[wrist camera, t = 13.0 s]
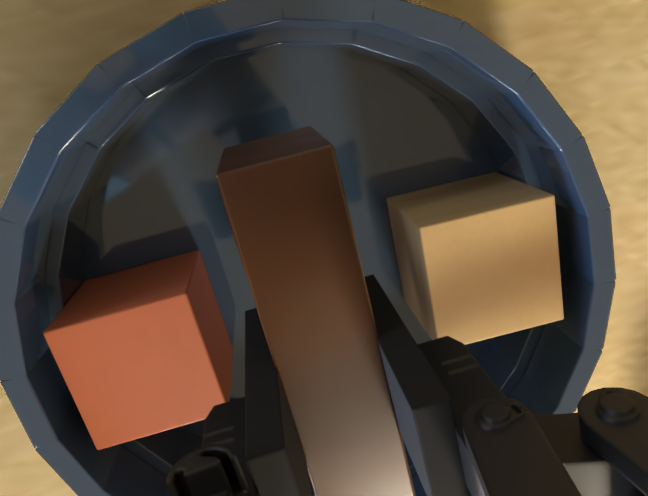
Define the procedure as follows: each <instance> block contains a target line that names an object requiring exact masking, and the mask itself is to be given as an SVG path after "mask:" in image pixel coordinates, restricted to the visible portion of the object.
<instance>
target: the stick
mask: <svg viewBox="0 0 648 496" xmlns="http://www.w3.org/2000/svg"><path fill="white" fill-rule="evenodd" d="M216 181H217V184H218V188H219V191H220V194H221V197H222V200H223V204H224V207H225V210H226V213H227V216H228V219H229V223H230V226H231V229H232V232H233V235H234V238H235V242H236V245H237V248H238V251H239V254H240V258H241V261H242V264H243V267H244V270H245V273H246V277H247V280H248V283H249V286H250V289H251V293H252V296H253V299H254V302H255V305H256V308H257V312H258V315H259V318H260V321H261V324H262V328H263V331H264V334H265V337H266V340H267V343H268V347H269V350H270V353H271V356H272V359H273V363H274V366H275V367H276V368H277V371H278V374H279V377H280V380H281V383H282V386H283V389H284V393H285V396H286V399H287V402H288V405H289V408H290V411H291V414H292V418H293V421H294V424H295V427H296V430H297V433H298V436H299V439H300V443H301V446H302V449H303V452H304V455H305V458H306V463H307V469H308V474H309V477H310V480H311V483H312V487H313V490H314V493H315V496H416V494H415V489H414V485H413V481H412V477H411V472H410V468H409V464H408V460H407V455H406V451H405V447H404V443H403V438H402V436H401V434H400V431H399V427H398V423H397V419H396V414H395V410H394V406H393V402H392V398H391V394H390V390H389V386H388V382H387V377H386V373H385V369H384V365H383V361H382V357H381V353H380V349H379V345H378V340H377V338H378V332H377V328H376V324H375V320H374V315H373V311H372V307H371V303H370V298H369V294H368V290H367V286H366V281H365V277H364V273H363V269H362V264H361V260H360V256H359V252H358V248H357V243H356V239H355V235H354V231H353V226H352V222H351V218H350V214H349V209H348V205H347V201H346V197H345V192H344V188H343V184H342V180H341V175H340V171H339V167H338V163H337V158H336V154H335V150H334V146H333V145H332V144H331V143H330V142H329V141H328V140H327V139H325V138H324V137H323V136H322V135H321V134H319V133H318V132H317V131H316V130H315V129H314V128H312V127H311V126H307V127H303V128H299V129H295V130H291V131H288V132H284V133H280V134H276V135H273V136H269V137H265V138H261V139H257V140H254V141H250V142H246V143H242V144H239V145H235V146H231V147H227V148H225V149H223V152H222V156H221V159H220V162H219V166H218V169H217V173H216Z"/></svg>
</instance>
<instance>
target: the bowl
mask: <svg viewBox="0 0 648 496" xmlns="http://www.w3.org/2000/svg"><path fill="white" fill-rule="evenodd" d="M307 126H311V127H312V128H314V129H315V130H316V131H317V132H318V133H319V134H321V135H322V136H323V137H324V138H325V139H327V140H328V141H329V142H330V143H331V144H332V145H333V146H334V150H335V154H336V158H337V163H338V167H339V171H340V175H341V180H342V184H343V188H344V192H345V197H346V201H347V205H348V209H349V214H350V218H351V222H352V226H353V231H354V235H355V239H356V243H357V248H358V252H359V256H360V260H361V264H362V269H363V273H364V277H365V276H369V275H372V274H374V276H375V277H376V279H377V281H378V282H379V284H380V286H381V287H382V289H383V290H384V292H385V294H386V295H387V297H388V298H389V300H390V302H391V303H392V305H393V306H394V308H395V310H396V311H397V313H398V314H399V316H400V318H401V319H402V321H403V322H404V324H405V326H406V327H407V329H408V330H409V332H410V334H411V335H412V337H413V338H414V340H415V342H416V343H417V344H421V343H424V342H427V341H431V340H432V339H431V338H430V336H429V335H428V334H427V332H426V331H425V329H424V328H423V326H422V325H421V323H420V322H419V321H418V319H417V318H416V316H415V315H414V313H413V312H412V310H411V309H410V307H409V306H408V305H407V303H406V302H405V300H404V296H403V290H402V284H401V279H400V273H399V268H398V262H397V256H396V251H395V245H394V240H393V234H392V229H391V223H390V217H389V212H388V206H387V201H386V199H387V198H388V197H392V196H396V195H401V194H405V193H409V192H413V191H417V190H421V189H426V188H430V187H434V186H438V185H442V184H446V183H451V182H455V181H459V180H463V179H467V178H472V177H476V176H480V175H484V174H488V173H492V172H496V173H499V174H502V175H504V176H507V177H509V178H512V179H514V180H517V181H520V182H522V183H525V184H527V185H530V186H532V187H535V188H537V189H540V190H543V191H545V192H548V193H550V194H553V195H554V196H555V208H556V221H557V234H558V247H559V260H560V273H561V286H562V299H563V312H564V319H563V320H559V321H555V322H551V323H547V324H544V325H540V326H536V327H532V328H528V329H524V330H520V331H516V332H512V333H509V334H505V335H501V336H497V337H493V338H489V339H485V340H481V341H478V342H474V343H470V344H466V345H465V346H466V348H467V349H468V350H469V351H470V353H471V354H472V356H474V358H475V359H476V360H477V361H478V363H479V365H480V366H482V368H483V369H484V370H485V371H486V373H487V374H488V375H489V377H490V378H491V379H492V380H493V382H494V383H495V384H496V385H497V387H498V388H499V389H500V390H501V392H502V393H503V394H504V395H505V397H506V398H513V399H515V400H517V401H519V402H521V403H523V404H524V405H525V406H526V407H527V408H528V409H529V410H530V411H531V412H532V413H537V414H568V413H573V412H575V411H576V409H577V404H578V403H579V401H580V399H581V398H582V395H583V393H584V391H585V389H586V386H587V384H588V382H589V380H590V378H591V375H592V373H593V371H594V369H595V367H596V364H597V362H598V360H599V358H600V356H601V353H602V350H601V349H603V347H604V342H605V337H606V331H607V326H608V320H609V315H610V309H611V304H612V299H613V293H614V288H615V279H616V273H615V260H614V248H613V236H612V223H611V211H610V208H609V207H610V205H609V202H608V199H607V197H606V194H605V191H604V189H603V186H602V183H601V181H600V178H599V175H598V173H597V170H596V167H595V165H594V162H593V159H592V157H591V154H590V151H589V149H588V146H587V144H586V141H585V138H584V137H583V136H582V134H581V132H580V131H579V130H578V128H577V127H576V126H575V124H574V123H573V122H572V120H571V119H570V118H569V116H568V115H567V114H566V113H565V111H564V110H563V109H562V107H561V106H560V105H559V103H558V102H557V101H556V99H555V98H554V97H553V96H552V94H551V93H550V92H549V90H548V89H547V88H546V86H545V85H544V84H543V82H542V81H541V80H540V79H539V77H538V76H537V75H536V73H534V72H533V70H532V69H531V68H530V67H528V66H527V65H525V64H524V63H523V62H521V61H520V60H518V59H517V58H516V57H514V56H513V55H511V54H510V53H509V52H507V51H506V50H504V49H503V48H502V47H500V46H499V45H497V44H496V43H495V42H493V41H492V40H490V39H489V38H488V37H486V36H485V35H484V34H482V33H481V32H479V31H478V30H477V29H475V28H474V27H472V26H471V25H470V24H468V23H467V22H465V21H462V20H461V19H459V18H456V17H453V16H450V15H447V14H444V13H441V12H438V11H435V10H432V9H429V8H426V7H423V6H420V5H417V4H414V3H411V2H408V1H405V0H227V1H223V2H219V3H215V4H211V5H207V6H204V7H200V8H196V9H192V10H188V11H185V12H184V13H180V14H178V15H177V16H175V17H173V18H172V19H170V20H168V21H167V22H165V23H163V24H162V25H160V26H158V27H157V28H155V29H153V30H152V31H150V32H148V33H147V34H145V35H143V36H142V37H140V38H138V39H137V40H135V41H134V42H132V43H130V44H129V45H127V46H125V47H124V48H122V49H120V50H119V51H117V52H115V53H114V54H112V55H110V56H109V57H107V58H105V59H104V60H102V61H100V62H99V64H97V65H96V66H95V67H94V68H93V69H92V70H91V71H90V72H89V74H88V75H87V76H86V77H85V78H84V79H83V80H82V81H81V82H80V83H79V85H78V86H77V87H76V88H75V89H74V90H73V91H72V92H71V93H70V95H69V96H68V97H67V98H66V99H65V100H64V101H63V102H62V103H61V104H60V106H59V107H58V108H57V109H56V110H55V111H54V112H53V113H52V114H51V116H50V117H49V118H48V119H47V120H46V121H45V122H44V123H43V124H42V126H41V127H40V128H39V129H38V130H37V131H36V132H35V135H34V136H33V138H32V140H31V142H30V144H29V146H28V148H27V150H26V153H25V155H24V157H23V159H22V161H21V163H20V166H19V168H18V170H17V172H16V174H15V176H14V179H13V181H12V183H11V185H10V187H9V189H8V192H7V194H6V196H5V198H4V200H3V202H2V205H1V207H0V381H1V384H2V386H3V388H4V390H5V392H6V394H7V396H8V398H9V400H10V401H11V403H12V405H13V407H14V409H15V411H16V413H17V415H18V417H19V419H20V421H21V423H22V425H23V427H24V429H25V431H26V433H27V435H28V437H29V438H30V440H31V442H32V444H33V446H34V448H36V451H37V452H38V453H39V454H40V456H41V457H42V458H43V459H44V460H45V461H46V462H47V463H48V464H49V465H50V466H51V467H52V468H53V469H54V471H55V472H56V473H57V474H58V475H59V476H60V477H61V478H62V479H63V480H64V481H65V482H66V483H67V484H68V486H69V487H70V488H71V489H72V490H73V491H74V492H75V493H76V494H77V495H78V496H171V495H170V492H169V490H168V488H167V486H166V479H167V476H168V473H169V471H170V470H171V469H172V467H173V466H174V464H175V463H176V462H177V461H178V460H180V459H181V458H182V457H183V456H185V455H186V454H187V453H189V452H191V451H193V450H195V449H197V448H199V447H201V444H202V438H203V436H202V435H203V427H204V421H205V419H204V420H201V421H197V422H194V423H190V424H187V425H183V426H180V427H177V428H173V429H170V430H166V431H163V432H159V433H156V434H152V435H149V436H146V437H142V438H139V439H135V440H132V441H128V442H125V443H121V444H118V445H115V446H111V447H108V448H104V449H101V450H97V449H96V447H95V444H94V442H93V440H92V438H91V436H90V434H89V432H88V429H87V427H86V425H85V423H84V421H83V419H82V416H81V414H80V412H79V410H78V408H77V406H76V404H75V401H74V399H73V397H72V395H71V393H70V391H69V389H68V386H67V384H66V382H65V380H64V378H63V376H62V374H61V371H60V369H59V367H58V365H57V363H56V361H55V358H54V356H53V354H52V352H51V350H50V348H49V346H48V343H47V341H46V339H45V337H44V335H43V332H44V331H45V330H46V328H47V327H48V326H49V325H50V323H51V322H52V321H53V320H54V318H55V317H56V316H57V315H58V313H59V312H60V311H61V310H62V309H63V307H64V306H65V305H66V304H67V302H68V301H69V300H70V299H71V297H72V296H73V295H74V294H75V292H76V291H77V290H78V289H79V287H80V286H81V285H82V284H83V283H84V281H86V280H90V279H93V278H97V277H101V276H104V275H108V274H112V273H115V272H119V271H122V270H126V269H130V268H133V267H137V266H141V265H144V264H148V263H151V262H155V261H159V260H162V259H166V258H170V257H173V256H177V255H181V254H184V253H188V252H191V251H195V250H199V251H200V254H201V257H202V260H203V263H204V266H205V269H206V271H207V274H208V277H209V280H210V283H211V286H212V289H213V292H214V295H215V298H216V301H217V304H218V307H219V310H220V312H221V315H222V318H223V321H224V324H225V327H226V330H227V333H228V336H229V339H230V342H231V345H232V348H233V354H232V370H231V386H230V401H232V400H235V399H239V398H242V397H245V311H247V310H250V309H254V308H256V305H255V302H254V299H253V296H252V293H251V289H250V286H249V283H248V280H247V277H246V273H245V270H244V267H243V264H242V261H241V258H240V254H239V251H238V248H237V245H236V242H235V238H234V235H233V232H232V229H231V226H230V223H229V219H228V216H227V213H226V210H225V207H224V204H223V200H222V197H221V194H220V191H219V188H218V184H217V181H216V173H217V169H218V166H219V162H220V159H221V156H222V152H223V149H225V148H227V147H231V146H235V145H239V144H242V143H246V142H250V141H254V140H257V139H261V138H265V137H269V136H273V135H276V134H280V133H284V132H288V131H291V130H295V129H299V128H303V127H307ZM403 443H404V441H403ZM404 447H405V451H406V455H407V460H408V464H409V468H410V472H411V477H412V481H413V485H414V489H415V494H416V496H427V495H426V492H425V490H424V488H423V485H422V483H421V481H420V478H419V476H418V474H417V471H416V469H415V467H414V464H413V462H412V459H411V457H410V455H409V452H408V450H407V448H406V445H405V443H404ZM308 475H309V474H308ZM309 482H310V488H311V495H312V496H315V493H314V490H313V487H312V483H311V480H310V477H309ZM470 496H472V495H471V493H470Z"/></svg>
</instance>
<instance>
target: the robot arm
mask: <svg viewBox="0 0 648 496" xmlns="http://www.w3.org/2000/svg"><path fill="white" fill-rule="evenodd" d="M365 281H366V286H367V290H368V294H369V298H370V303H371V307H372V311H373V315H374V320H375V324H376V328H377V332H378V338H377V340H378V345H379V349H380V353H381V357H382V361H383V365H384V369H385V373H386V377H387V382H388V386H389V390H390V394H391V398H392V402H393V406H394V410H395V414H396V419H397V423H398V427H399V431H400V434H401V436H402V438H403V441H404V443H405V445H406V448H407V450H408V452H409V455H410V457H411V459H412V462H413V464H414V467H415V469H416V471H417V474H418V476H419V478H420V481H421V483H422V485H423V488H424V490H425V492H426V495H427V496H470V493H471V495H472V496H648V397H647V396H645V395H643V394H641V393H639V392H636V391H633V390H629V389H624V388H602V389H597V390H593V391H591V392H589V393H587V394H586V395H584V396H583V397H582V398H581V399H580V401H579V403H578V404H577V408H578V413H568V414H537V413H532V412H531V411H530V410H529V409H528V408H527V407H526V406H525V405H524V404H523V403H521V402H519V401H517V400H515V399H513V398H506V397H505V395H504V394H503V393H502V392H501V390H500V389H499V388H498V387H497V385H496V384H495V383H494V382H493V380H492V379H491V378H490V377H489V375H488V374H487V373H486V371H485V370H484V369H483V368H482V366H480V365H479V363H478V361H477V360H476V359H475V358H474V356H472V354H471V353H470V351H469V350H468V349H467V348H466V346H465V345H464V344H463V343H462V342H460V341H458V340H455V339H453V338H451V337H449V336H444V337H441V338H438V339H434V340H431V341H427V342H424V343H421V344H417V343H416V342H415V340H414V338H413V337H412V335H411V334H410V332H409V330H408V329H407V327H406V326H405V324H404V322H403V321H402V319H401V318H400V316H399V314H398V313H397V311H396V310H395V308H394V306H393V305H392V303H391V302H390V300H389V298H388V297H387V295H386V294H385V292H384V290H383V289H382V287H381V286H380V284H379V282H378V281H377V279H376V277H375V276H374V274H372V275H369V276H365ZM202 436H203V438H202V444H201V447H199V448H197V449H195V450H193V451H191V452H189V453H187V454H186V455H185V456H183V457H182V458H181V459H180V460H178V461H177V462H176V463H175V464H174V466H173V467H172V469H171V470H170V471H169V473H168V476H167V479H166V486H167V488H168V490H169V492H170V495H171V496H312V495H311V488H310V482H309V475H308V469H307V463H306V458H305V455H304V452H303V449H302V446H301V443H300V439H299V436H298V433H297V430H296V427H295V424H294V421H293V418H292V414H291V411H290V408H289V405H288V402H287V399H286V396H285V393H284V389H283V386H282V383H281V380H280V377H279V374H278V371H277V368H276V367H275V366H274V363H273V359H272V356H271V353H270V350H269V347H268V343H267V340H266V337H265V334H264V331H263V328H262V324H261V321H260V318H259V315H258V312H257V308H254V309H250V310H247V311H245V397H242V398H239V399H235V400H232V401H229V402H225V403H222V404H218V405H215V406H213V408H212V410H211V411H210V413H209V414H208V416H207V417H206V419H205V421H204V427H203V435H202Z"/></svg>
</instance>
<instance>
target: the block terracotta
mask: <svg viewBox="0 0 648 496" xmlns="http://www.w3.org/2000/svg"><path fill="white" fill-rule="evenodd" d="M43 335H44V337H45V339H46V341H47V343H48V346H49V348H50V350H51V352H52V354H53V356H54V358H55V361H56V363H57V365H58V367H59V369H60V371H61V374H62V376H63V378H64V380H65V382H66V384H67V386H68V389H69V391H70V393H71V395H72V397H73V399H74V401H75V404H76V406H77V408H78V410H79V412H80V414H81V416H82V419H83V421H84V423H85V425H86V427H87V429H88V432H89V434H90V436H91V438H92V440H93V442H94V444H95V447H96V449H97V450H101V449H104V448H108V447H111V446H115V445H118V444H121V443H125V442H128V441H132V440H135V439H139V438H142V437H146V436H149V435H152V434H156V433H159V432H163V431H166V430H170V429H173V428H177V427H180V426H183V425H187V424H190V423H194V422H197V421H201V420H204V419H206V417H207V416H208V414H209V413H210V411H211V410H212V408H213V406H215V405H218V404H222V403H225V402H229V401H230V386H231V370H232V354H233V348H232V345H231V342H230V339H229V336H228V333H227V330H226V327H225V324H224V321H223V318H222V315H221V312H220V310H219V307H218V304H217V301H216V298H215V295H214V292H213V289H212V286H211V283H210V280H209V277H208V274H207V271H206V269H205V266H204V263H203V260H202V257H201V254H200V251H199V250H195V251H191V252H188V253H184V254H181V255H177V256H173V257H170V258H166V259H162V260H159V261H155V262H151V263H148V264H144V265H141V266H137V267H133V268H130V269H126V270H122V271H119V272H115V273H112V274H108V275H104V276H101V277H97V278H93V279H90V280H86V281H84V283H83V284H82V285H81V286H80V287H79V289H78V290H77V291H76V292H75V294H74V295H73V296H72V297H71V299H70V300H69V301H68V302H67V304H66V305H65V306H64V307H63V309H62V310H61V311H60V312H59V313H58V315H57V316H56V317H55V318H54V320H53V321H52V322H51V323H50V325H49V326H48V327H47V328H46V330H45V331H44V332H43Z"/></svg>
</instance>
